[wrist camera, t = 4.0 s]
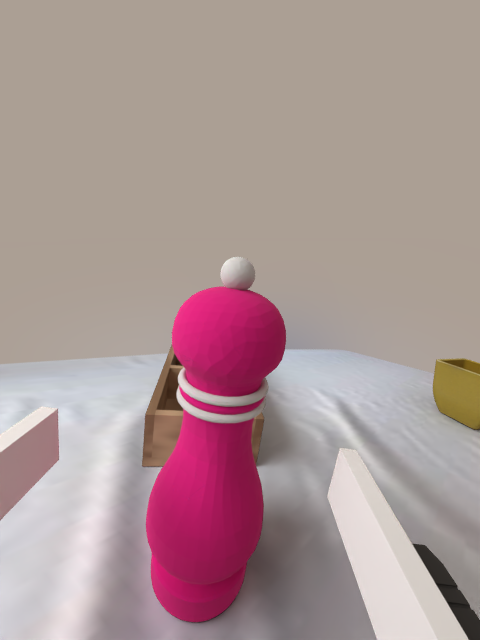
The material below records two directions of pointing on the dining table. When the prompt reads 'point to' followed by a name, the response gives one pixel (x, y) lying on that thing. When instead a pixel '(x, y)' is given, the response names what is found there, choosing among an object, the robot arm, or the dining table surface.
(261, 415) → the caddy
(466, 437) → the dining table surface
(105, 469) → the dining table surface
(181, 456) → the pepper mill
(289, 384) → the dining table surface
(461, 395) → the flower pot
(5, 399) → the dining table surface
